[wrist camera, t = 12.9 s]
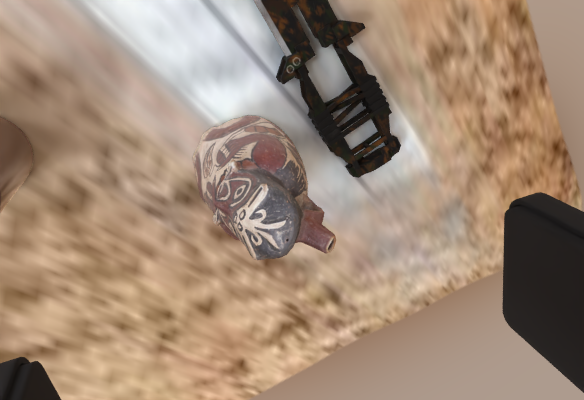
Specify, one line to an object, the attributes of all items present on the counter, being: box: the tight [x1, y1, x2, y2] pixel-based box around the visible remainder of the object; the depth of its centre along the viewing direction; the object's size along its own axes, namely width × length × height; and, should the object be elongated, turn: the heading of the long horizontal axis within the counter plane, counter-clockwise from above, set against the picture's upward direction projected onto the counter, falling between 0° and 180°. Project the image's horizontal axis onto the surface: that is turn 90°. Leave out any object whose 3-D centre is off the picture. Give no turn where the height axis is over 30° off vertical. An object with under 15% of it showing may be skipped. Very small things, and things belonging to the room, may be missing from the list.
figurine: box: [192, 115, 336, 260], centre depth 28 cm, size 7×7×12 cm
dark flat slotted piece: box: [254, 0, 401, 178], centre depth 29 cm, size 25×6×1 cm, turn 26°
